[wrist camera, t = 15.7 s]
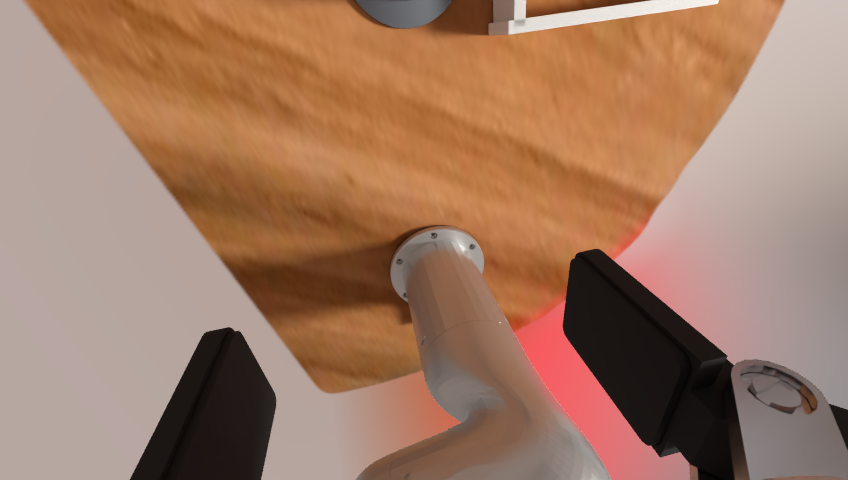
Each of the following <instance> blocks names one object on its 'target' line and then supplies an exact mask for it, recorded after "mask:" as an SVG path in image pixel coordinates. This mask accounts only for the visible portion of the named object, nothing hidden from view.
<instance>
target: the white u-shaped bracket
mask: <svg viewBox="0 0 848 480" xmlns="http://www.w3.org/2000/svg"><path fill="white" fill-rule="evenodd" d="M718 1H719V0H649V1H642V2H635V3H628V4H621V5H614V6H607V7H600V8H593V9H586V10H579V11H572V12H565V13H558V14H551V15H544V16H537V17H530V18H526V0H493V23H488V25H489V35H509V34H516V33H523V32H530V31H536V30H543V29H550V28H557V27H564V26H570V25H577V24H584V23H591V22H598V21H604V20H611V19H618V18H625V17H632V16H638V15H645V14H652V13H659V12H666V11H672V10H679V9H686V8H693V7H700V6H706V5H713V4H718Z"/></svg>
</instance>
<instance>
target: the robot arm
mask: <svg viewBox="0 0 848 480" xmlns="http://www.w3.org/2000/svg"><path fill="white" fill-rule="evenodd" d="M432 233H434V234H432ZM483 269H484V258H483V253H482V251H481V248H480V246H479V245H478V243H477V242H476V240H475V239H474V238H473V237H472V236H471V235H469V234H468V233H466V232H465V231H463V230H461V229H458V228H455V227H450V226H435V227H429V228H426V229H423V230H420V231H418V232H416V233H415V234H413V235H411V236H410V237H408V238H407V239H406V240H405V241H404V242H403V243H402V244H401V245H400V246H399V247H398V249H397V250H396V252H395V253H394V255H393V258H392V261H391V266H390V276H391V281H392V285H393V287H394V289H395V291H396V292H397V294H398V295H399V296H400V297H401V298H402V299H403V300H405V301H406V302H408V304H409V309H410V313H411V318H412V322H413V327H414V332H415V336H416V341H417V345H418V350H419V354H420V359H421V364H422V368H423V372H424V377H425V381H426V384H427V387H428V389H429V391H430V393H431V395H432V396H433V398H434V399H435V400H436V402H437V403H438V404H439V405H440V406H441V407H442V408H443V409H444V410H445V411H446V412H447V413H448V414H450V415H451V416H452V417H454V418H455V419H457V420H458V421H459V422H461V424H458V425H456V426H454V427H452V428H450V429H448V430H447V431H444V432H442V433H440V434H437V435H435V436H432V437H430V438H428V439H425V440H422V441H420V442H418V443H415V444H413V445H410V446H408V447H405V448H403V449H400V450H398V451H396V452H394V453H392V454H389V455H387V456H385V457H383V458H381V459H379V460H377V461H375V462H374V463H372V464H371V465H369V466H368V467H367V468H365V470H364V471H363V472H362V473H361V474H360V475H359V476H358V477H357V479H356V480H611V477H610V475H609V473H608V471H607V469H606V468H605V466H604V464H603V462H602V460H601V459H600V457H599V455H598V453H597V452H596V451H595V449H594V448H593V447H592V445H591V443H590V442H589V441H588V440H587V438H586V436H585V435H584V434H583V432H582V431H581V430H580V429H579V427H578V426H577V425H576V424H575V422H574V421H573V420H572V419H571V417H570V416H569V415H568V414H567V412H566V411H565V410H564V409H563V407H562V406H561V405H560V404H559V402H558V401H557V400H556V399H555V397H554V396H553V395H552V393H551V392H550V390H549V389H548V387H547V386H546V385H545V383H544V382H543V380H542V379H541V377H540V376H539V374H538V373H537V371H536V370H535V368H534V367H533V365H532V363H531V362H530V360H529V358H528V357H527V355H526V353H525V351H524V350H523V348H522V346H521V344H520V343H519V341H518V339H517V337H516V335H515V334H514V332H513V330H512V328H511V326H510V325H509V323H508V321H507V319H506V317H505V316H504V314H503V312H502V310H501V309H500V307H499V305H498V303H497V302H496V300H495V298H494V296H493V294H492V293H491V291H490V289H489V287H488V285H487V284H486V282H485V280H484V278H483V277H482V272H483ZM563 330H564V333H565V335H566V337H567V339H568V340H569V341H570V343H571V344H572V346H573V347H574V348H575V350H576V351H577V353H578V354H579V355H580V357H581V358H582V360H583V361H584V362H585V364H586V365H587V366H588V368H589V369H590V371H591V372H592V373H593V375H594V376H595V377H596V379H597V380H598V381H599V383H600V384H601V386H602V387H603V388H604V390H605V391H606V393H607V394H608V395H609V396H610V398H611V399H612V401H613V402H614V403H615V405H616V406H617V408H618V409H619V410H620V412H621V413H622V415H623V416H624V417H625V419H626V420H627V421H628V423H629V424H630V425H631V427H632V428H633V430H634V431H635V432H636V434H637V435H638V436H639V438H640V439H641V440H642V442H644V443H645V444H646V445H648V446H650V445H651V446H652V447H653V449H654V450H655V451H656V453H657V454H658V455H659V456H660V457H663V456H667V455H671V454H674V453H678V452H681V453H682V455H683V456H684V457H685V458H686V460H687V461H688V462H689V465H690V480H848V410H846V409H844V408H840V407H837V406H834V405H831V404H828V402H827V400H826V399H825V397H824V396H823V394H822V392H821V391H820V390H819V389H817V387H816V386H815V385H813V384H812V383H811V382H810V381H809V380H807V379H806V378H804V377H803V376H801V375H799V374H798V373H796V372H794V371H792V370H790V369H788V368H786V367H784V366H781V365H778V364H775V363H772V362H769V361H762V360H757V359H756V360H755V359H754V360H744V361H741V362H738V363H736V364H735V365H733V364H732V363H730V362H729V361H728V360H727V359H726V358H727V355H726V354H724V353H723V352H722V351H721V350H720V349H719V348H717V347H716V346H715V345H714V344H713V343H711V342H710V341H709V340H708V339H706V338H705V337H704V336H703V335H702V334H701V333H699V332H698V331H697V330H696V329H695V328H693V327H692V326H691V325H690V324H689V323H687V322H686V321H685V320H684V319H683V318H681V317H680V316H679V315H678V314H677V313H675V312H674V311H673V310H672V309H671V308H670V307H668V306H667V305H666V304H665V303H664V302H662V301H661V300H660V299H659V298H658V297H656V296H655V295H654V294H653V293H651V292H650V291H649V290H648V289H647V288H645V287H644V286H643V285H642V284H641V283H640V282H638V281H637V280H636V279H635V278H634V277H632V276H631V275H630V274H629V273H628V272H626V271H625V270H624V269H623V268H622V267H621V266H619V265H618V264H617V263H616V262H615V261H613V260H612V259H611V258H610V257H609V256H607V255H606V254H605V253H604V252H603V251H601V250H599V249H593V250H589V251H584V252H579V253H577V254H576V256H575V259H572V260H571V263H570V270H569V278H568V286H567V295H566V304H565V311H564V320H563ZM275 409H276V396H275V393H274V391H273V389H272V387H271V385H270V384H269V382H268V380H267V378H266V377H265V375H264V373H263V371H262V369H261V367H260V366H259V364H258V362H257V360H256V358H255V357H254V355H253V353H252V351H251V349H250V348H249V346H248V344H247V342H246V340H245V339H244V337H243V335H242V334H241V332H239V331H234V330H233V329H232V328H230V327H228V328H223V329H218V330H214V331H209V332H206V333H204V335H203V336H202V338H201V340H200V342H199V344H198V346H197V348H196V350H195V352H194V354H193V356H192V358H191V360H190V362H189V364H188V366H187V368H186V370H185V372H184V374H183V375H182V377H181V379H180V381H179V383H178V386H177V387H176V389H175V392H174V393H173V395H172V398H171V399H170V402H169V403H168V405H167V407H166V409H165V411H164V413H163V415H162V417H161V419H160V421H159V423H158V425H157V427H156V429H155V431H154V433H153V435H152V437H151V439H150V441H149V443H148V445H147V447H146V449H145V451H144V453H143V455H142V457H141V459H140V461H139V463H138V465H137V467H136V469H135V471H134V473H133V475H132V477H131V479H130V480H261V476H262V472H263V466H264V462H265V457H266V453H267V447H268V443H269V438H270V433H271V428H272V423H273V418H274V414H275Z"/></svg>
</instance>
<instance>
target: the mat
mask: <svg viewBox="0 0 848 480" xmlns="http://www.w3.org/2000/svg"><path fill="white" fill-rule="evenodd" d="M355 1H356V2H357V3H358V4H359V6H360V7H361V8H362V9H363V10H364V11H365V12H366V13H367V14H369V15H370V16H371V17H372V18H374V19H375V20H377V21H379V22H380V23H383V24H385V25H387V26H391V27H395V28H402V29H406V28H415V27H419V26H422V25H425V24H427V23H429V22H431V21H433V20H434V19H436V18H437V17H438V16H440V15H441V14H442V13H443V12H444V11H445V10H446V9H447V7H448V6H449V5H450V3H451V2H452V1H453V0H410V1H400V0H355Z"/></svg>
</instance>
